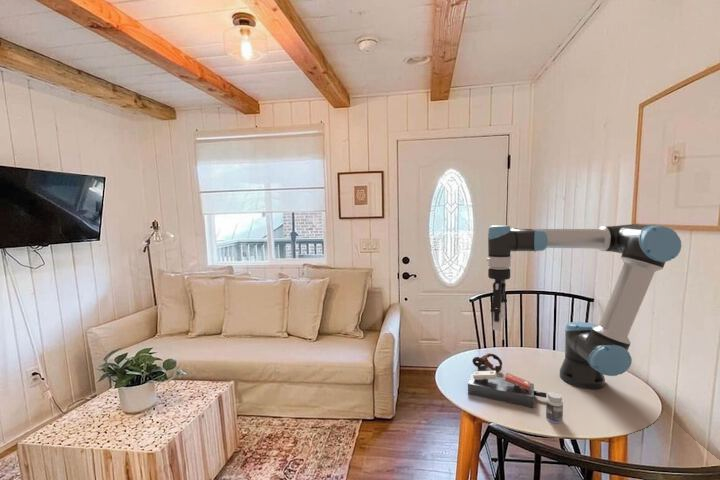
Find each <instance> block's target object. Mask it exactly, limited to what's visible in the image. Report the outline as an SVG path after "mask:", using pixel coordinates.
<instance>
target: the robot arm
mask: <svg viewBox="0 0 720 480" xmlns="http://www.w3.org/2000/svg"><path fill="white" fill-rule="evenodd" d="M487 234H488V235H487V236H488V237H487V243H488V244H487V245H488V246H487V247H488V251H487V253H488V254H487V255H488V256H487V258H486V261H487V262H488V263H487V264H488V265H487V266H488V268H487V269H488V270H487V273H488V275H487V277H488V278H489V279H491V280H494V281H493V283H492V307H491V309H490V310H489V311H490V313H492V330H493V331H498V332H500V331H502V320H504V321H505V319H506V303H507V302H508V299H506V282H505V280H510V278H511V269H510V268H511V260H512V259H511V258H512V256H511V252H535V253H536V252H541V251H542V252H543V251H545V250H546V249H595V250H596V249H598V251H601V252H609V253H610V252H611V253H612V252H613V253H618V254H621V257H620V258H621V260H622V262H623V265H622V268H621V271H620V272H619V275H618V277H617V279H616V282H615V285H614V287H613V290H612V292H611V295H610V297H609V300H608V302H607V304H606V307H605V309H604V311H603V314H602V316H601V319H600V321H599V323H598V324H597V323H596V324H595V323H592V322H591V323H590V322H583V321H571V322H567V323H566V325H565V330H564V332H565V334H564V335H565V337H564V338H565V339H564V340H565V342H564V344H565V346H564V359H563V361H562V363H561V366H560V368H559V377H560V379H561V380H563V381H564V382H565V383H568V384H570V385H572V386H575V387H578V388H582V389H587V390H588V389H589V390H599V389H602V388H604V387H605V385H606V379H605V376H609V377H615V376H618V375H622V374H624V373H625V372H627V371H628V370H629V369H630V367H631V366H632V360H633V359H632V356H631V353H630V352H629V349H630V346H631V343H632V342H631V340H630V339H629V337H628V336H629V334H630V331H631V329H632V327H633V324H634V323H635V322H634V321H635V320H636V317H637V315H638V313H639V310H640V308H641V306H642V303H643V301H644V298H645V296H646V294H647V291H648V290H649V287H650V284H651V282H652V280H653V278H654V276H655V273H656V272H658V271H660V270H664V267H665V264H666V263H667V262H669V261H670V262H671V261H672V260H673V259H675V258H676V257H678V256H679V255H680V252H681V250H682V240H681V237H680V236H679V235H678V233H677V232H676V231H675V230H674V229H672V228H670V227H669V226H664V225H659V224H636V223H632V224H621V225H608V226H607V225H606V226H604V225H602V226H600V227H599V228H516V227H513V228H511V226H510V225H491V226H489V227H488V233H487Z"/></svg>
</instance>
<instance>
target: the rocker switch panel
mask: <svg viewBox="0 0 720 480" xmlns="http://www.w3.org/2000/svg"><path fill="white" fill-rule="evenodd" d="M473 374H474V371H472V372H471V374H470V377H469V379H468V382H467V395H471V396H476V397H481V398H486V399H490V400H495V401H499V402H503V403H506V404H507V403H508V404H513V405H517V406H522V407H526V408H531V409H534V404H535V403H534V402H535V400H534V399H535V397H540V398H546V399H547V392H542V391H537V390H535V384H534V383H531V382H530V387H529V390H526V389H524V388H521V387H519V386H516V385H514V384H512V383H509V382H507V381H505V377H499V376H496V379H485V380H484V379H477V380H474V377H473Z"/></svg>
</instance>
